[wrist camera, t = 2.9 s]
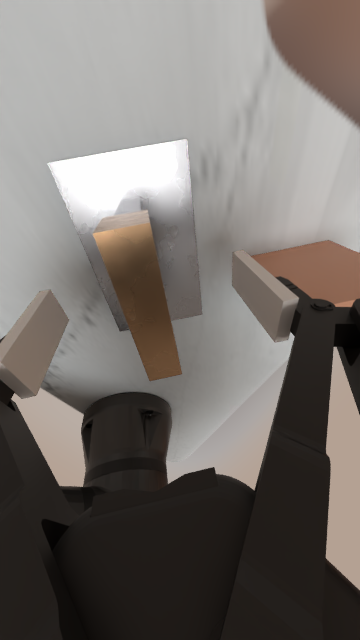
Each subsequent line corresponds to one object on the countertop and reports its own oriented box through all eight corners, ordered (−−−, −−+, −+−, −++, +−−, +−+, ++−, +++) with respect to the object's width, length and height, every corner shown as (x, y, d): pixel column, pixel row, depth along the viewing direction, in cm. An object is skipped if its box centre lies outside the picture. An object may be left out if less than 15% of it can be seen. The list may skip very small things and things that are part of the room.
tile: (323, 255, 23) (417, 302, 15) (238, 273, 23) (289, 331, 15) (328, 240, 22) (431, 283, 14) (238, 258, 22) (294, 312, 14)
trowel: (200, 310, 25) (231, 384, 17) (120, 327, 25) (111, 411, 17) (185, 139, 15) (241, 114, 7) (51, 162, 15) (-61, 165, 7)
